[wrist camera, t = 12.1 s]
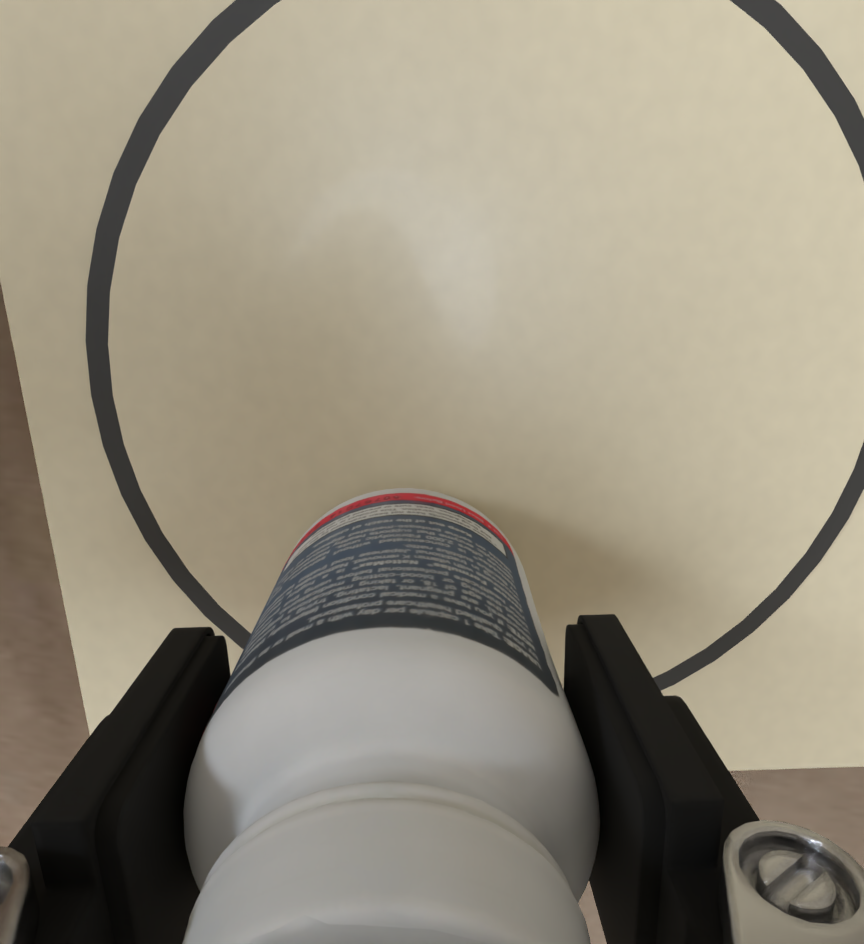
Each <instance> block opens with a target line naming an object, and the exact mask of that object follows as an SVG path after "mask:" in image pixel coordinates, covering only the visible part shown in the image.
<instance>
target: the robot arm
mask: <svg viewBox="0 0 864 944" xmlns="http://www.w3.org/2000/svg"><path fill="white" fill-rule="evenodd" d="M230 677H231V675H230V667H229V659H228V651H227V644H226V640H225V637H224V636H223V635H219V636H215V633H214V631H213V629H212V628H211V627H186V628H174V629H172V630H171V631H170V633H169V634H168V636H167V637H166V638H165V640H164V641H163V642H162V644H161V645H160V646H159V648H158V649H157V651H156V652H155V653H154V655H153V656H152V657H151V659H150V660H149V661H148V663H147V664H146V666H145V667H144V668H143V670H142V671H141V672H140V674H139V675H138V676H137V678H136V679H135V681H134V682H133V683H132V685H131V686H130V687H129V689H128V690H127V692H126V693H125V694H124V696H123V697H122V698H121V700H120V701H119V702H118V704H117V705H116V707H115V708H114V709H113V711H112V712H111V713H110V715H107V716H106V717H105V718H104V719H103V720H102V721H101V722H100V723H99V725H98V726H97V727H96V729H95V730H94V731H93V733H92V734H91V735H90V737H89V738H88V739H87V741H86V742H85V743H84V745H83V746H82V747H81V749H80V750H79V752H78V753H77V754H76V756H75V757H74V758H73V760H72V761H71V762H70V764H69V765H68V766H67V768H66V769H65V770H64V772H63V773H62V774H61V776H60V777H59V779H58V780H57V781H56V783H55V784H54V785H53V787H52V788H51V789H50V791H49V792H48V793H47V795H46V796H45V797H44V799H43V800H42V801H41V803H40V804H39V806H38V807H37V808H36V810H35V811H34V812H33V814H32V815H31V816H30V818H29V819H28V820H27V822H26V823H25V824H24V826H23V827H22V828H21V830H20V831H19V833H18V834H17V835H16V837H15V838H14V839H13V841H12V842H11V843H10V845H9V846H8V847H1V846H0V944H182V943H183V940H184V936H185V932H186V929H187V926H188V921H189V917H190V914H191V912H192V910H193V907H194V905H195V902H196V900H197V898H198V896H199V894H200V890H199V888H198V886H197V884H196V881H195V879H194V876H193V874H192V871H191V867H190V863H189V860H188V856H187V852H186V847H185V838H184V816H183V809H184V800H185V793H186V786H187V781H188V776H189V772H190V768H191V765H192V762H193V760H194V757H195V754H196V751H197V748H198V745H199V743H200V740H201V738H202V735H203V733H204V730H205V727H206V725H207V723H208V721H209V719H210V717H211V715H212V713H213V711H214V709H215V706H216V704H217V702H218V700H219V698H220V696H221V694H222V692H223V691H224V689H225V687H226V685H227V683H228V681H229V679H230ZM564 692H565V695H566V698H567V700H568V703H569V705H570V708H571V711H572V713H573V716H574V718H575V721H576V724H577V727H578V729H579V732H580V735H581V737H582V740H583V743H584V745H585V748H586V751H587V754H588V757H589V760H590V763H591V766H592V770H593V773H594V776H595V782H596V787H597V792H598V800H599V811H600V834H599V842H598V847H597V852H596V857H595V861H594V864H593V868H592V872H591V875H590V878H589V881H590V885H591V888H592V892H593V895H594V899H595V902H596V906H597V910H598V913H599V917H600V920H601V924H602V927H603V931H604V935H605V938H606V942H607V944H864V869H863V868H862V867H861V866H860V865H859V864H858V863H857V862H856V861H855V860H854V859H853V858H852V857H851V856H850V855H849V854H848V853H847V852H845V851H844V850H843V849H841V848H840V847H838V846H837V845H836V844H834V843H833V842H832V841H830V840H829V839H827V838H825V837H823V836H821V835H819V834H817V833H815V832H812V831H810V830H808V829H806V828H803V827H800V826H796V825H793V824H789V823H786V822H779V821H767V820H761V821H760V820H759V818H758V817H757V815H756V814H755V812H754V810H753V809H752V807H751V806H750V804H749V803H748V801H747V799H746V798H745V796H744V795H743V793H742V791H741V790H740V788H739V787H738V785H737V784H736V782H735V780H734V779H733V777H732V776H731V774H730V772H729V771H728V769H727V768H726V766H725V765H724V763H723V761H722V760H721V758H720V757H719V755H718V753H717V752H716V750H715V749H714V747H713V746H712V744H711V742H710V741H709V739H708V738H707V736H706V734H705V733H704V731H703V730H702V728H701V727H700V725H699V723H698V722H697V720H696V719H695V717H694V715H693V714H692V712H691V711H690V709H689V708H688V706H687V704H686V703H685V702H684V701H683V699H682V698H681V697H679V696H676V695H673V696H663V694H662V693H661V691H660V689H659V688H658V686H657V684H656V682H655V681H654V679H653V677H652V676H651V674H650V672H649V671H648V669H647V667H646V665H645V664H644V662H643V660H642V659H641V657H640V655H639V653H638V652H637V650H636V648H635V647H634V645H633V643H632V642H631V640H630V638H629V636H628V635H627V633H626V631H625V630H624V628H623V626H622V625H621V623H620V621H619V619H618V618H617V616H616V615H615V614H600V615H579V617H578V620H577V624H569V625H567V626H566V632H565V660H564Z"/></svg>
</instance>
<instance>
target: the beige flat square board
mask: <svg viewBox="0 0 864 944" xmlns="http://www.w3.org/2000/svg"><path fill="white" fill-rule="evenodd" d="M0 282H1V287H2V292H3V297H4V302H5V307H6V312H7V317H8V323H9V328H10V333H11V338H12V343H13V348H14V353H15V358H16V363H17V368H18V373H19V378H20V383H21V389H22V394H23V399H24V404H25V409H26V414H27V419H28V424H29V429H30V434H31V439H32V444H33V450H34V455H35V460H36V465H37V470H38V475H39V480H40V485H41V490H42V495H43V500H44V505H45V510H46V516H47V521H48V526H49V531H50V536H51V541H52V546H53V551H54V556H55V561H56V566H57V571H58V577H59V582H60V587H61V592H62V597H63V602H64V607H65V612H66V617H67V622H68V627H69V632H70V637H71V643H72V648H73V653H74V658H75V663H76V668H77V673H78V678H79V683H80V688H81V693H82V698H83V704H84V709H85V714H86V719H87V724H88V729H89V734H90V735H91V734H92V733H93V731H94V730H95V729H96V727H97V726H98V725H99V723H100V722H101V721H102V720H103V719H104V718H105V717H106V716H107V715H110V713H111V712H112V711H113V709H114V708H115V707H116V705H117V704H118V702H119V701H120V700H121V698H122V697H123V696H124V694H125V693H126V692H127V690H128V689H129V687H130V686H131V685H132V683H133V682H134V681H135V679H136V678H137V676H138V675H139V674H140V672H141V671H142V670H143V668H144V667H145V666H146V664H147V663H148V661H149V660H150V659H151V657H152V656H153V655H154V653H155V652H156V651H157V649H158V648H159V646H160V645H161V644H162V642H163V641H164V640H165V638H166V637H167V636H168V634H169V633H170V631H171V630H172V629H174V628H186V627H211V628H212V629H213V631H214V633H215V636H219V635H223V636H224V637H225V640H226V644H227V651H228V659H229V667H230V675H231V674H232V672H233V670H234V668H235V666H236V664H237V662H238V660H239V658H240V656H241V654H242V652H243V650H244V648H245V646H246V644H247V641H248V639H249V637H250V635H251V633H252V631H253V629H254V627H255V625H256V623H257V621H258V619H259V617H260V615H261V613H262V611H263V609H264V607H265V605H266V603H267V601H268V599H269V597H270V595H271V593H272V590H273V588H274V586H275V584H276V582H277V580H278V578H279V576H280V574H281V571H282V569H283V567H284V565H285V563H286V562H287V560H288V558H289V556H290V555H291V553H292V551H293V549H294V547H295V546H296V544H297V543H298V541H299V540H300V538H301V537H302V536H303V535H304V533H305V532H306V531H307V530H308V529H309V528H310V527H311V526H312V525H313V524H314V523H315V522H316V521H317V520H318V519H319V518H321V517H322V516H323V515H324V514H326V513H327V512H328V511H330V510H331V509H333V508H335V507H336V506H338V505H339V504H341V503H343V502H345V501H347V500H350V499H352V498H355V497H357V496H360V495H363V494H366V493H370V492H374V491H379V490H385V489H394V488H415V489H425V490H430V491H435V492H439V493H443V494H446V495H449V496H451V497H454V498H457V499H459V500H461V501H463V502H465V503H467V504H469V505H470V506H472V507H474V508H475V509H477V510H478V511H480V512H481V513H483V514H484V515H485V516H486V517H487V518H489V519H490V520H491V521H492V522H493V523H494V524H495V525H496V526H497V527H498V528H499V529H500V530H501V531H502V532H503V534H504V535H505V536H506V538H507V539H508V540H509V542H510V543H511V545H512V547H513V548H514V550H515V551H516V553H517V555H518V557H519V559H520V561H521V564H522V566H523V568H524V571H525V574H526V577H527V581H528V584H529V587H530V591H531V594H532V597H533V601H534V604H535V608H536V611H537V614H538V617H539V620H540V623H541V627H542V630H543V633H544V636H545V639H546V642H547V645H548V648H549V651H550V654H551V657H552V660H553V663H554V665H555V668H556V671H557V674H558V677H559V679H560V682H561V685H562V687H563V690H564V660H565V632H566V626H567V625H569V624H577V620H578V617H579V615H600V614H615V615H616V616H617V618H618V619H619V621H620V623H621V625H622V626H623V628H624V630H625V631H626V633H627V635H628V636H629V638H630V640H631V642H632V643H633V645H634V647H635V648H636V650H637V652H638V653H639V655H640V657H641V659H642V660H643V662H644V664H645V665H646V667H647V669H648V671H649V672H650V674H651V676H652V677H653V679H654V681H655V682H656V684H657V686H658V688H659V689H660V691H661V693H662V694H663V696H673V695H676V696H679V697H681V698H682V699H683V701H684V702H685V703H686V704H687V706H688V708H689V709H690V711H691V712H692V714H693V715H694V717H695V719H696V720H697V722H698V723H699V725H700V727H701V728H702V730H703V731H704V733H705V734H706V736H707V738H708V739H709V741H710V742H711V744H712V746H713V747H714V749H715V750H716V752H717V753H718V755H719V757H720V758H721V760H722V761H723V763H724V765H725V766H726V768H727V769H728V771H741V770H772V769H804V768H836V767H864V0H0Z"/></svg>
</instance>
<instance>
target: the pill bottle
mask: <svg viewBox="0 0 864 944" xmlns="http://www.w3.org/2000/svg"><path fill="white" fill-rule="evenodd" d="M183 816H184V838H185V847H186V852H187V856H188V860H189V863H190V867H191V871H192V874H193V876H194V879H195V881H196V884H197V886H198V888H199V890H200V894H199V896H198V898H197V900H196V902H195V905H194V907H193V910H192V912H191V914H190V917H189V921H188V926H187V929H186V932H185V936H184V940H183V943H182V944H590V937H589V933H588V929H587V925H586V921H585V918H584V916H583V914H582V912H581V909H580V907H579V905H578V902H579V900H580V898H581V896H582V894H583V892H584V890H585V888H586V886H587V883H588V880H589V878H590V875H591V872H592V868H593V864H594V861H595V857H596V852H597V847H598V842H599V834H600V811H599V800H598V792H597V787H596V782H595V776H594V773H593V770H592V766H591V763H590V760H589V757H588V754H587V751H586V748H585V745H584V743H583V740H582V737H581V735H580V732H579V729H578V727H577V724H576V721H575V718H574V716H573V713H572V711H571V708H570V705H569V703H568V700H567V698H566V695H565V692H564V690H563V687H562V685H561V682H560V679H559V677H558V674H557V671H556V668H555V665H554V663H553V660H552V657H551V654H550V651H549V648H548V645H547V642H546V639H545V636H544V633H543V630H542V627H541V623H540V620H539V617H538V614H537V611H536V608H535V604H534V601H533V597H532V594H531V591H530V587H529V584H528V581H527V577H526V574H525V571H524V568H523V566H522V564H521V561H520V559H519V557H518V555H517V553H516V551H515V550H514V548H513V547H512V545H511V543H510V542H509V540H508V539H507V538H506V536H505V535H504V534H503V532H502V531H501V530H500V529H499V528H498V527H497V526H496V525H495V524H494V523H493V522H492V521H491V520H490V519H489V518H487V517H486V516H485V515H484V514H483V513H481V512H480V511H478V510H477V509H475V508H474V507H472V506H470V505H469V504H467V503H465V502H463V501H461V500H459V499H457V498H454V497H451V496H449V495H446V494H443V493H439V492H435V491H430V490H425V489H415V488H394V489H385V490H379V491H374V492H370V493H366V494H363V495H360V496H357V497H355V498H352V499H350V500H347V501H345V502H343V503H341V504H339V505H338V506H336V507H335V508H333V509H331V510H330V511H328V512H327V513H326V514H324V515H323V516H322V517H321V518H319V519H318V520H317V521H316V522H315V523H314V524H313V525H312V526H311V527H310V528H309V529H308V530H307V531H306V532H305V533H304V535H303V536H302V537H301V538H300V540H299V541H298V543H297V544H296V546H295V547H294V549H293V551H292V553H291V555H290V556H289V558H288V560H287V562H286V563H285V565H284V567H283V569H282V571H281V574H280V576H279V578H278V580H277V582H276V584H275V586H274V588H273V590H272V593H271V595H270V597H269V599H268V601H267V603H266V605H265V607H264V609H263V611H262V613H261V615H260V617H259V619H258V621H257V623H256V625H255V627H254V629H253V631H252V633H251V635H250V637H249V639H248V641H247V644H246V646H245V648H244V650H243V652H242V654H241V656H240V658H239V660H238V662H237V664H236V666H235V668H234V670H233V672H232V674H231V677H230V679H229V681H228V683H227V685H226V687H225V689H224V691H223V692H222V694H221V696H220V698H219V700H218V702H217V704H216V706H215V709H214V711H213V713H212V715H211V717H210V719H209V721H208V723H207V725H206V727H205V730H204V733H203V735H202V738H201V740H200V743H199V745H198V748H197V751H196V754H195V757H194V760H193V762H192V765H191V768H190V772H189V776H188V781H187V786H186V793H185V800H184V809H183Z"/></svg>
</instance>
